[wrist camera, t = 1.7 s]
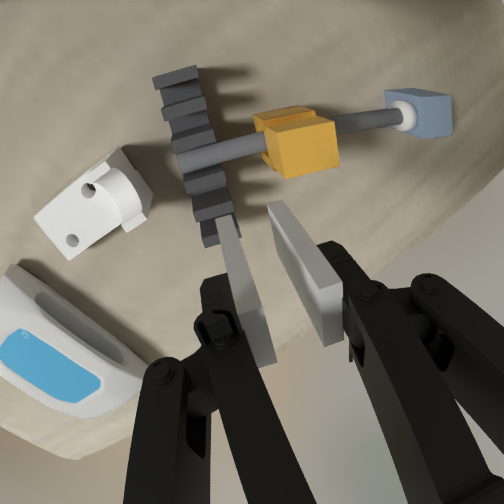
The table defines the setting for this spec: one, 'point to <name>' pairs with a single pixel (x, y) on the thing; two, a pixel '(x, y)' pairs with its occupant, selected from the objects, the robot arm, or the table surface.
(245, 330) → the robot arm
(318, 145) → the yellow notched block
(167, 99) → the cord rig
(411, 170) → the table surface
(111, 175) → the bracket
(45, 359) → the document scanner
